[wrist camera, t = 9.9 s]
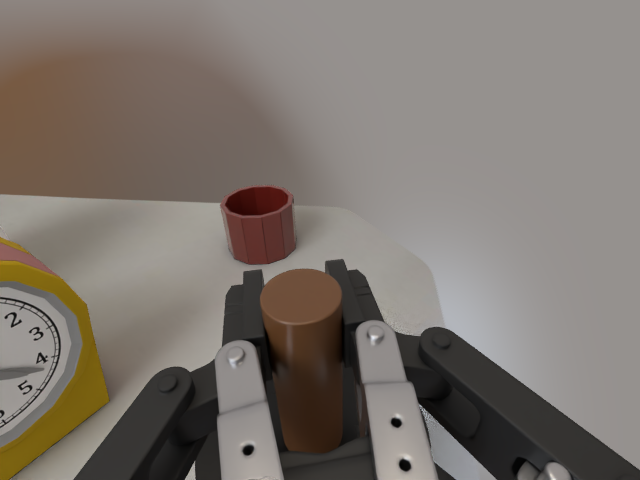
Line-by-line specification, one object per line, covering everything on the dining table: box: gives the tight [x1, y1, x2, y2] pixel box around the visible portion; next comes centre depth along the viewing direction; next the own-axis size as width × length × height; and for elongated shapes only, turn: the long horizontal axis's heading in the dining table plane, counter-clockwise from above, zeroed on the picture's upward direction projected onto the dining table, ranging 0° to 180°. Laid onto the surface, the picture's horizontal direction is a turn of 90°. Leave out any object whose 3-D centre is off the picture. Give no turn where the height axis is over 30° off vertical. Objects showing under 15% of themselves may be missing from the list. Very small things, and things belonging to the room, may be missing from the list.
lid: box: [195, 269, 431, 480], centre depth 14 cm, size 10×10×9 cm
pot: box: [220, 185, 297, 264], centre depth 49 cm, size 9×9×7 cm
